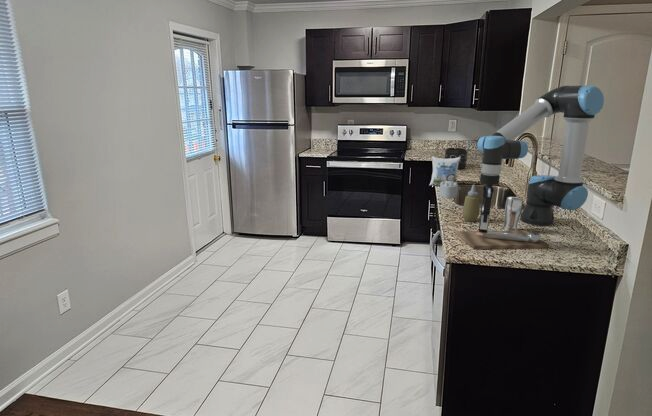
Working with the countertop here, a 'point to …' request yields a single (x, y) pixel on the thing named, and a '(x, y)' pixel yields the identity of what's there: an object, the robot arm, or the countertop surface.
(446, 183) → the lumpy-topped squat cylinder
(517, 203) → the beer glass
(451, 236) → the countertop surface
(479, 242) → the lever board
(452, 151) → the dark rounded-top box
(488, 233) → the lever
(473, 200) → the squeeze bottle
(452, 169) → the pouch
